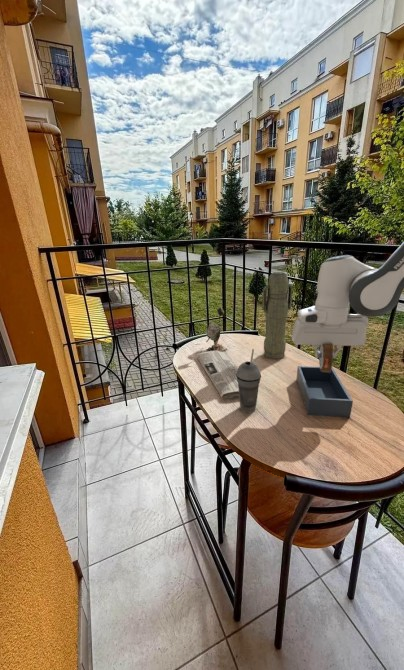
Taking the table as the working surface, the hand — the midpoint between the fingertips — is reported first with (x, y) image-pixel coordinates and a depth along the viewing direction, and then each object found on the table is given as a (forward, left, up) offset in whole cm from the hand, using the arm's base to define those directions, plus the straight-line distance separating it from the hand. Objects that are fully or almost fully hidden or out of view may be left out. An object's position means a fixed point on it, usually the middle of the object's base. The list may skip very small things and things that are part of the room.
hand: (325, 357), depth 85 cm
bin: (0, 0, -14) cm, 14 cm away
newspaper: (+32, -12, -14) cm, 37 cm away
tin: (0, 0, -3) cm, 3 cm away
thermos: (+12, -31, -14) cm, 36 cm away
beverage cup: (+23, +9, -14) cm, 28 cm away
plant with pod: (+38, -36, -14) cm, 54 cm away
